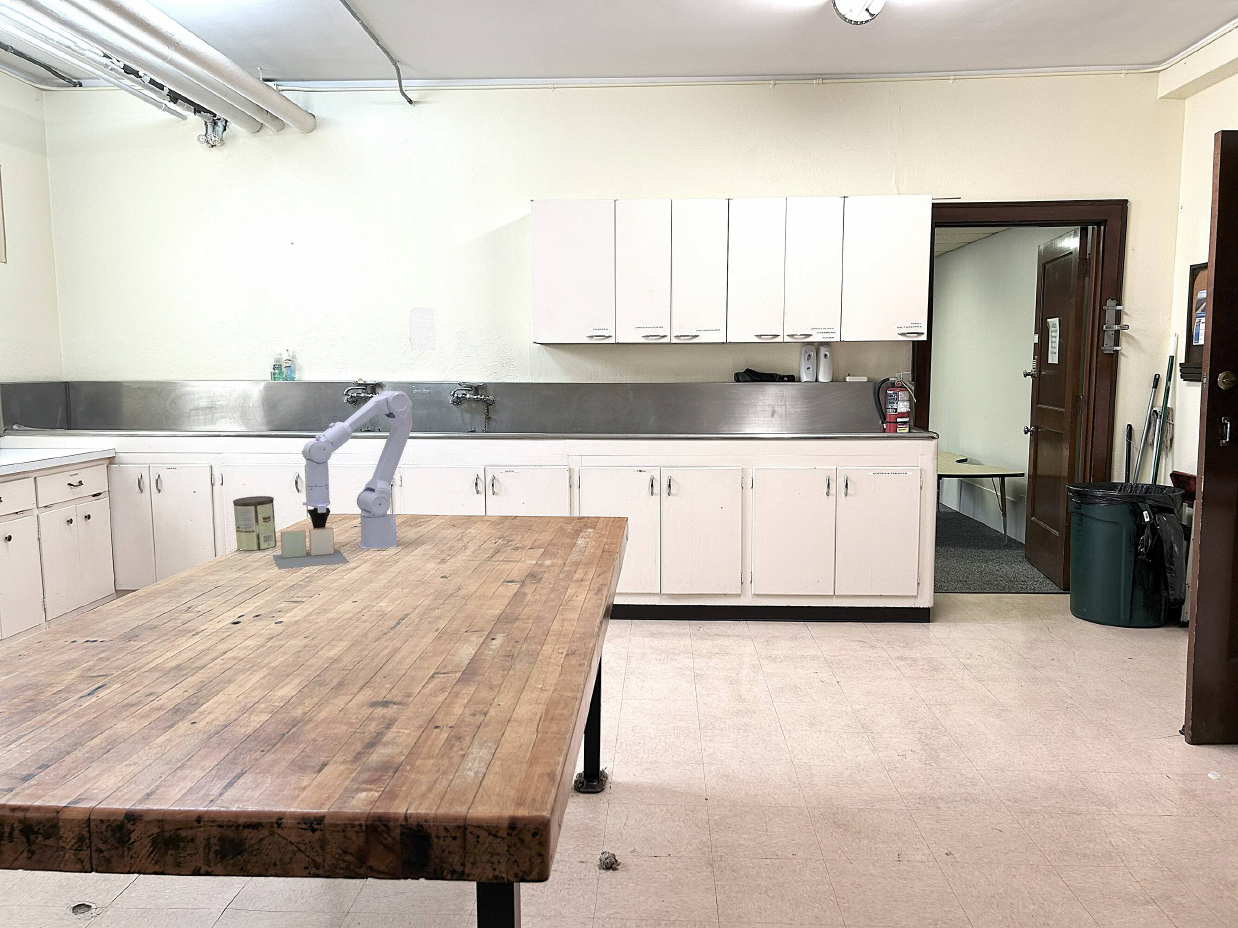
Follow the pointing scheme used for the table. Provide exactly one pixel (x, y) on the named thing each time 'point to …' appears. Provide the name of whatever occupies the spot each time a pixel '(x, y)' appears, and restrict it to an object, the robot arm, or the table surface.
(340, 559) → the slate mat
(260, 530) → the coffee can
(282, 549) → the tile
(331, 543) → the tile
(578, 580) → the table surface
